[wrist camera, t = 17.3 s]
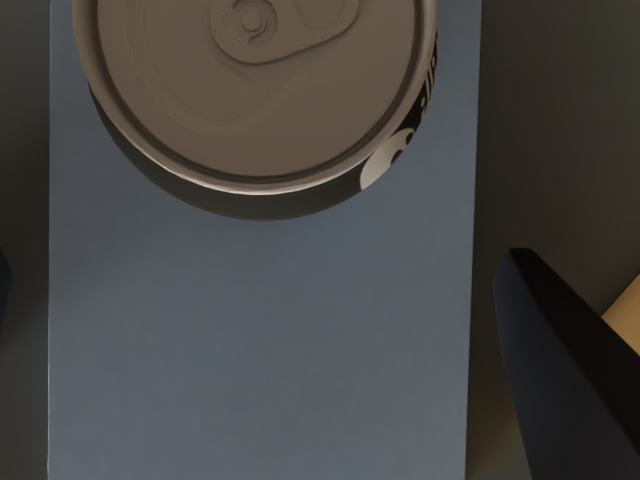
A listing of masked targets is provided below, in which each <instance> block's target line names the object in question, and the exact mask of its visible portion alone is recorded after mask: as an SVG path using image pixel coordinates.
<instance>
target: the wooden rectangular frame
mask: <svg viewBox="0 0 640 480" xmlns="http://www.w3.org/2000/svg"><path fill="white" fill-rule="evenodd" d="M601 318H602V319H603V320H604V321H605V322H606V323H607V324H608V325H609V326H610V327H611V328H612V329H613V330H614V331H615V332H616V333H617V334H618V335H620V336H621V337H622V338H623V339H624V340H625V341H626V342H627V343H628V344H629V345H630V346H631V347H632V348H633V349H634V350H635V351H636V352H637V353H638V354H639V355H640V274H639V275H638V276H637V277H636V278H635V279H634V281H633V282H632V283H631V284H630V285H629V286H628V287H627V288H626V290H625V291H624V292H623V293H622V294H621V295H620V296H619V298H618V299H617V300H616V301H615V302H614V303H613V304H612V306H611V307H610V308H609V309H608V310H607V311H606V312H605V313H604V315H603V316H602V317H601Z"/></svg>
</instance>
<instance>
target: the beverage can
mask: <svg viewBox="0 0 640 480" xmlns="http://www.w3.org/2000/svg"><path fill="white" fill-rule="evenodd" d="M72 17H73V29H74V35H75V41H76V46H77V50H78V54H79V58H80V61H81V64H82V67H83V70H84V72H85V75H86V78H87V82H88V86H89V90H90V94H91V97H92V100H93V102H94V104H95V107H96V109H97V112H98V114H99V116H100V118H101V121H102V123H103V124H104V126H105V128H106V129H107V131H108V133H109V134H110V136H111V138H112V139H113V141H114V142H115V144H116V145H117V146H118V148H119V149H120V150H121V151H122V153H123V154H124V155H125V156H126V157H127V159H128V160H129V161H130V162H131V163H132V164H133V165H134V166H135V167H136V168H137V169H138V170H139V171H140V172H141V173H142V174H143V175H144V176H145V177H147V178H148V179H149V180H150V181H151V182H153V183H154V184H155V185H157V186H158V187H160V188H161V189H162V190H164V191H165V192H167V193H169V194H170V195H172V196H173V197H175V198H177V199H179V200H181V201H183V202H185V203H187V204H189V205H191V206H193V207H196V208H198V209H201V210H204V211H207V212H210V213H213V214H216V215H220V216H224V217H229V218H235V219H241V220H251V221H276V220H286V219H292V218H298V217H302V216H307V215H311V214H314V213H317V212H320V211H323V210H326V209H328V208H331V207H333V206H335V205H337V204H340V203H342V202H344V201H346V200H347V199H349V198H351V197H353V196H354V195H356V194H357V193H359V192H361V191H362V190H364V189H365V188H366V187H368V186H369V185H370V184H372V183H373V182H374V181H375V180H376V179H378V178H379V177H380V176H381V175H382V174H383V173H384V172H385V171H386V170H387V169H388V168H389V167H390V166H391V165H392V164H393V163H394V162H395V161H396V159H397V158H398V157H399V156H400V155H401V153H402V152H403V151H404V149H405V148H406V146H407V145H408V144H409V142H410V141H411V139H412V137H413V136H414V134H415V132H416V130H417V128H418V127H419V125H420V123H421V121H422V118H423V116H424V114H425V111H426V108H427V106H428V103H429V100H430V97H431V94H432V90H433V86H434V81H435V76H436V70H437V61H438V29H437V4H436V0H72Z"/></svg>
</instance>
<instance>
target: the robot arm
mask: <svg viewBox="0 0 640 480" xmlns="http://www.w3.org/2000/svg"><path fill="white" fill-rule="evenodd" d="M12 281H13V270H12V266H11V264H10V263H9V261H8V259H7V257H6V255H5V254H4V252H3V250H2V248H1V246H0V332H1V328H2V324H3V320H4V315H5V311H6V307H7V302H8V298H9V294H10V290H11V285H12ZM493 292H494V300H495V308H496V315H497V323H498V331H499V339H500V346H501V353H502V360H503V365H504V369H505V374H506V378H507V382H508V386H509V390H510V394H511V398H512V402H513V406H514V409H515V413H516V417H517V421H518V425H519V429H520V433H521V437H522V441H523V445H524V449H525V453H526V457H527V461H528V465H529V469H530V473H531V476H532V480H640V355H639V354H638V353H637V352H636V351H635V350H634V349H633V348H632V347H631V346H630V345H629V344H628V343H627V342H626V341H625V340H624V339H623V338H622V337H621V336H620V335H618V334H617V333H616V332H615V331H614V330H613V329H612V328H611V327H610V326H609V325H608V324H607V323H606V322H605V321H604V320H603V319H602V318H601V317H600V316H599V315H598V314H597V313H596V312H595V311H594V310H593V309H592V308H591V307H590V306H589V305H588V304H587V303H586V302H585V301H584V300H583V299H582V298H581V297H580V296H579V295H578V294H577V293H576V292H575V291H574V290H573V289H572V288H571V287H570V286H569V285H568V284H567V283H566V282H565V281H564V280H563V279H562V278H561V277H560V276H559V275H558V274H557V273H556V272H555V271H554V270H553V269H552V268H551V267H550V266H549V265H548V264H547V263H546V262H545V261H544V260H543V259H542V258H541V257H539V256H538V255H537V254H536V253H535V252H534V251H533V250H531V249H529V248H508V249H507V250H506V251H505V253H504V255H503V257H502V259H501V262H500V264H499V266H498V268H497V271H496V273H495V275H494V279H493Z"/></svg>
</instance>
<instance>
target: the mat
mask: <svg viewBox="0 0 640 480" xmlns="http://www.w3.org/2000/svg"><path fill="white" fill-rule="evenodd" d="M436 4H437V29H438V61H437V70H436V76H435V81H434V86H433V90H432V94H431V97H430V100H429V103H428V106H427V108H426V111H425V114H424V116H423V118H422V121H421V123H420V125H419V127H418V128H417V130H416V132H415V134H414V136H413V137H412V139H411V141H410V142H409V144H408V145H407V146H406V148H405V149H404V151H403V152H402V153H401V155H400V156H399V157H398V158H397V159H396V161H395V162H394V163H393V164H392V165H391V166H390V167H389V168H388V169H387V170H386V171H385V172H384V173H383V174H382V175H381V176H380V177H379V178H378V179H376V180H375V181H374V182H373V183H372V184H370V185H369V186H368V187H366V188H365V189H364V190H362V191H361V192H359V193H357V194H356V195H354V196H353V197H351V198H349V199H347V200H346V201H344V202H342V203H340V204H337V205H335V206H333V207H331V208H328V209H326V210H323V211H320V212H317V213H314V214H311V215H307V216H302V217H298V218H292V219H286V220H276V221H251V220H241V219H235V218H229V217H224V216H220V215H216V214H213V213H210V212H207V211H204V210H201V209H198V208H196V207H193V206H191V205H189V204H187V203H185V202H183V201H181V200H179V199H177V198H175V197H173V196H172V195H170V194H169V193H167V192H165V191H164V190H162V189H161V188H160V187H158V186H157V185H155V184H154V183H153V182H151V181H150V180H149V179H148V178H147V177H145V176H144V175H143V174H142V173H141V172H140V171H139V170H138V169H137V168H136V167H135V166H134V165H133V164H132V163H131V162H130V161H129V160H128V159H127V157H126V156H125V155H124V154H123V153H122V151H121V150H120V149H119V148H118V146H117V145H116V144H115V142H114V141H113V139H112V138H111V136H110V134H109V133H108V131H107V129H106V128H105V126H104V124H103V123H102V121H101V118H100V116H99V114H98V112H97V109H96V107H95V104H94V102H93V100H92V97H91V94H90V90H89V86H88V82H87V78H86V75H85V72H84V70H83V67H82V64H81V61H80V58H79V54H78V50H77V46H76V41H75V35H74V29H73V17H72V0H50V164H49V366H48V480H465V455H466V427H467V399H468V372H469V344H470V316H471V288H472V261H473V233H474V205H475V177H476V150H477V122H478V94H479V66H480V39H481V11H482V0H436Z"/></svg>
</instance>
